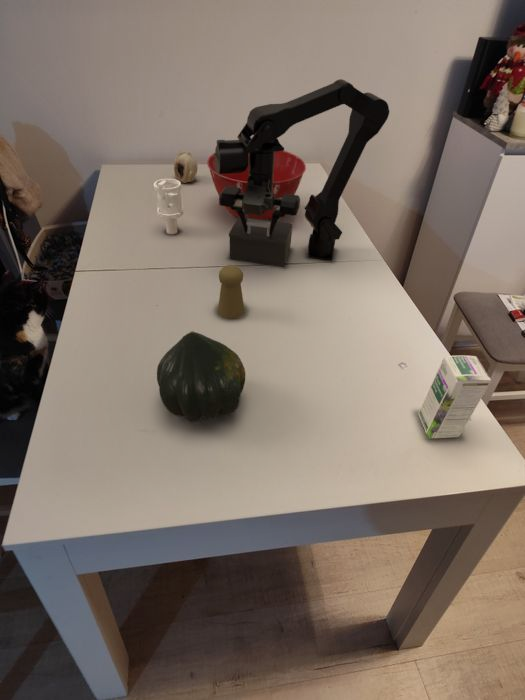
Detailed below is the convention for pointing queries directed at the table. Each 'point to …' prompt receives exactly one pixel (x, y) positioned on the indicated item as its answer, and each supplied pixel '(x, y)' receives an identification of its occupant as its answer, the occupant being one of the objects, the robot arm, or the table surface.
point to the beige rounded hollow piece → (185, 167)
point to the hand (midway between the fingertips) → (258, 233)
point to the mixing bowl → (284, 178)
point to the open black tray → (260, 251)
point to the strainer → (169, 203)
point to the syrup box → (453, 396)
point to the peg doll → (231, 292)
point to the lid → (261, 231)
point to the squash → (200, 378)
